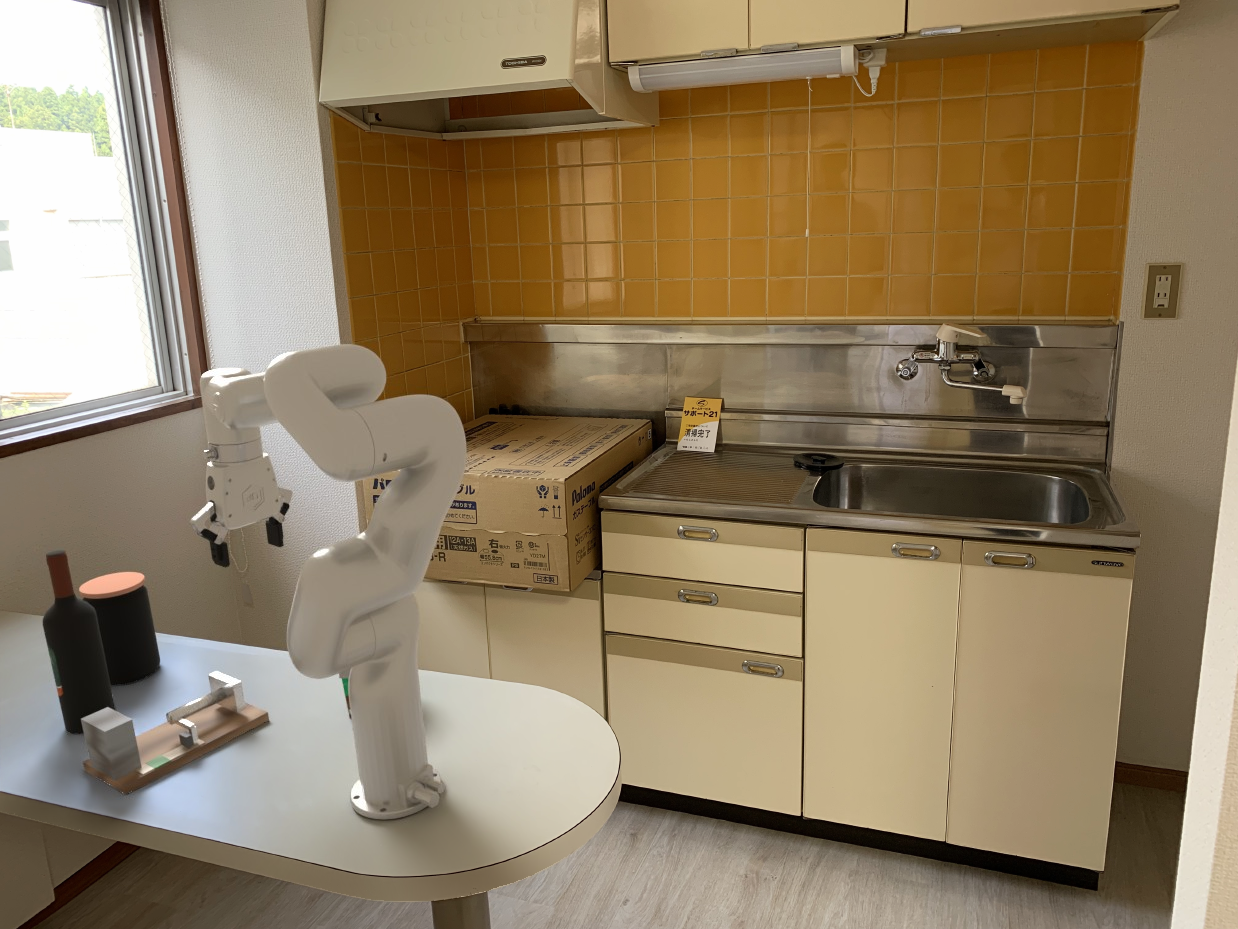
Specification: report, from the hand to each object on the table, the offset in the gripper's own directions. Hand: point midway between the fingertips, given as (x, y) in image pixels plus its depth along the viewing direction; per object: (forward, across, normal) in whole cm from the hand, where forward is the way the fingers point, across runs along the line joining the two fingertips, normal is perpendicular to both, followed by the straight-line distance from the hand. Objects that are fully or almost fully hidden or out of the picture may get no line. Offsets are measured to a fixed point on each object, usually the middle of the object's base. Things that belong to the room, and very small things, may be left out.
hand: (249, 555), depth 148 cm
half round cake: (+29, +12, -13) cm, 34 cm away
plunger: (+27, -8, +5) cm, 29 cm away
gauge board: (+29, -13, +5) cm, 32 cm away
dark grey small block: (+27, -14, +1) cm, 30 cm away
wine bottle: (+30, -17, +25) cm, 43 cm away
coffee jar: (+31, -3, +37) cm, 48 cm away
